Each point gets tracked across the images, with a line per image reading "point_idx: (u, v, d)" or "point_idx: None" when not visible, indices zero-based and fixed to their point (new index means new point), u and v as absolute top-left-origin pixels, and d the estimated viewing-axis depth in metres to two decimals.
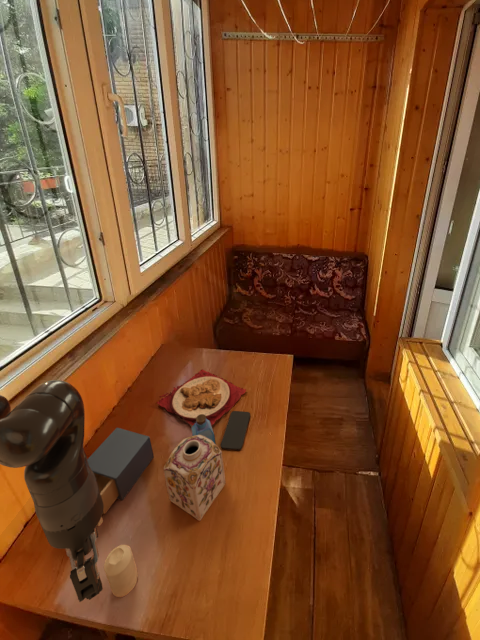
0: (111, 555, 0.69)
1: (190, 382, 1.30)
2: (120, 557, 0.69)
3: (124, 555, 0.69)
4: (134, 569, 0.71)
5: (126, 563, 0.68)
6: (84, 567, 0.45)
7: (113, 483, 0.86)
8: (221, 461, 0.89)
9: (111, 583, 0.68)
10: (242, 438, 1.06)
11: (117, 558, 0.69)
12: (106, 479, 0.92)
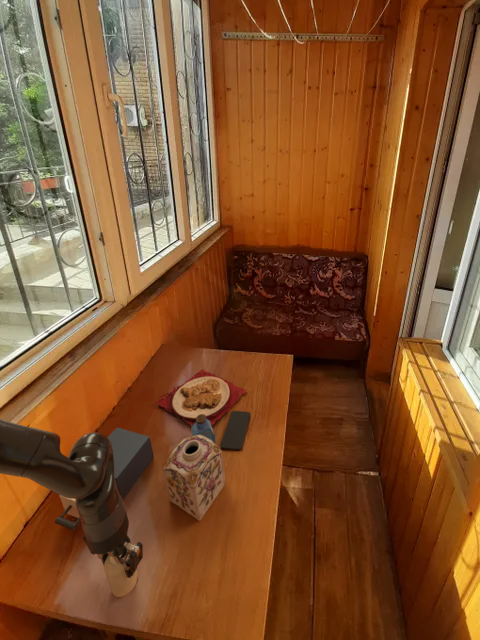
0: None
1: (190, 382, 1.30)
2: None
3: None
4: None
5: None
6: (138, 547, 0.66)
7: None
8: (221, 461, 0.89)
9: (111, 583, 0.68)
10: (242, 438, 1.06)
11: None
12: None
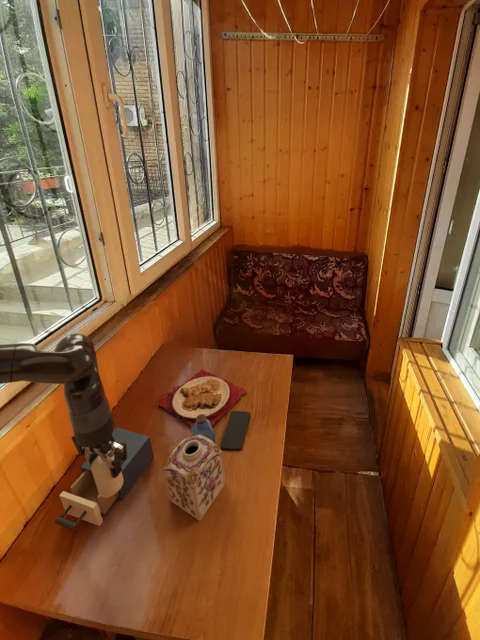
0: (98, 457, 0.74)
1: (190, 382, 1.30)
2: None
3: None
4: None
5: None
6: (122, 445, 0.70)
7: None
8: (221, 461, 0.89)
9: (97, 482, 0.73)
10: (242, 438, 1.06)
11: None
12: None
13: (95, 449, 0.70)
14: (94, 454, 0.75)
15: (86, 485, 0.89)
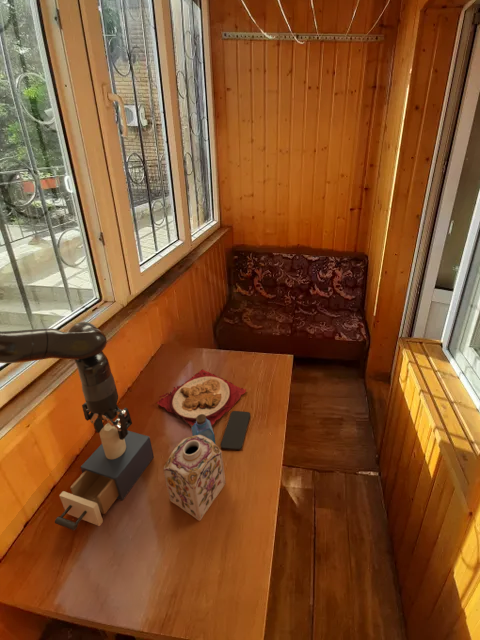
0: (105, 426, 0.90)
1: (190, 382, 1.30)
2: (112, 427, 0.90)
3: None
4: (123, 440, 0.92)
5: (117, 432, 0.89)
6: (124, 410, 0.86)
7: (113, 483, 0.86)
8: (221, 461, 0.89)
9: (105, 446, 0.89)
10: (242, 438, 1.06)
11: (109, 428, 0.90)
12: (106, 479, 0.92)
13: (103, 415, 0.86)
14: (98, 419, 0.91)
15: (86, 485, 0.89)
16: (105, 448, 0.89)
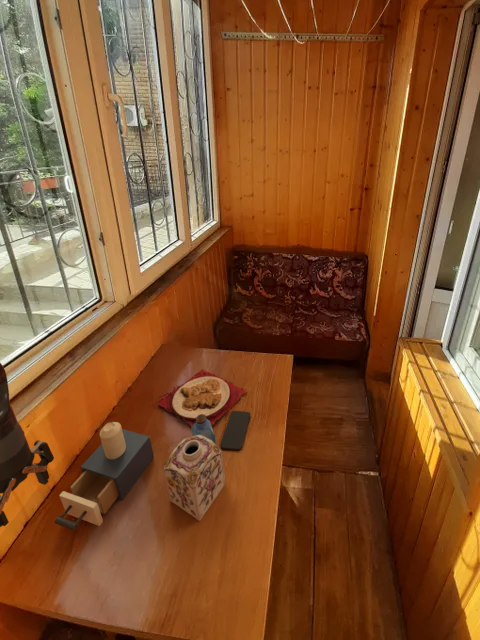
0: (105, 426, 0.90)
1: (190, 382, 1.30)
2: (112, 427, 0.90)
3: (115, 426, 0.90)
4: (123, 440, 0.92)
5: (117, 432, 0.89)
6: None
7: (113, 483, 0.86)
8: (221, 461, 0.89)
9: (105, 446, 0.89)
10: (242, 438, 1.06)
11: (109, 428, 0.90)
12: (106, 479, 0.92)
13: None
14: None
15: (86, 485, 0.89)
16: (105, 448, 0.89)
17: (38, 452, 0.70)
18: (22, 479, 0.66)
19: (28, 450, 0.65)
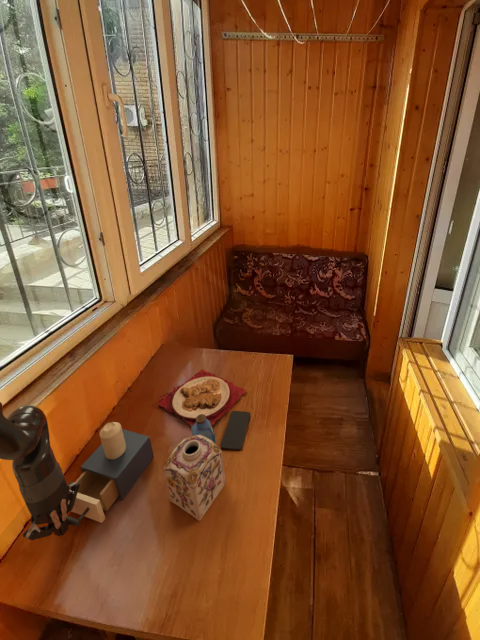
0: (105, 426, 0.90)
1: (190, 382, 1.30)
2: (112, 427, 0.90)
3: (115, 426, 0.90)
4: (123, 440, 0.92)
5: (117, 432, 0.89)
6: (28, 537, 0.69)
7: None
8: (221, 461, 0.89)
9: (105, 446, 0.89)
10: (242, 438, 1.06)
11: (109, 428, 0.90)
12: None
13: None
14: (59, 520, 0.76)
15: (88, 482, 0.89)
16: (105, 448, 0.89)
17: (70, 491, 0.78)
18: (60, 509, 0.75)
19: (65, 485, 0.74)
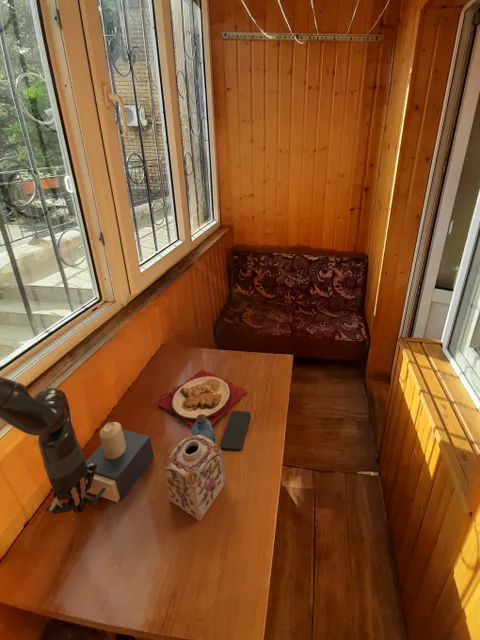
0: (105, 426, 0.90)
1: (190, 382, 1.30)
2: (112, 427, 0.90)
3: (115, 426, 0.90)
4: (123, 440, 0.92)
5: (117, 432, 0.89)
6: (51, 511, 0.74)
7: None
8: (221, 461, 0.89)
9: (105, 446, 0.89)
10: (242, 438, 1.06)
11: (109, 428, 0.90)
12: None
13: None
14: None
15: None
16: (105, 448, 0.89)
17: (88, 471, 0.83)
18: (79, 487, 0.80)
19: (85, 463, 0.79)
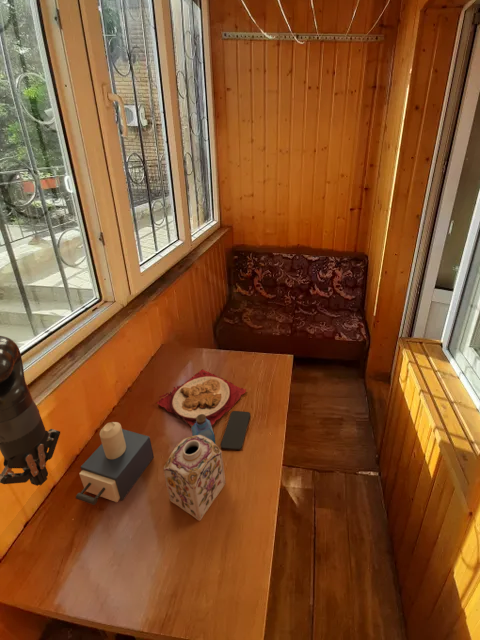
0: (105, 426, 0.90)
1: (190, 382, 1.30)
2: (112, 427, 0.90)
3: (115, 426, 0.90)
4: (123, 440, 0.92)
5: (117, 432, 0.89)
6: (0, 481, 0.63)
7: None
8: (221, 461, 0.89)
9: (105, 446, 0.89)
10: (242, 438, 1.06)
11: (109, 428, 0.90)
12: None
13: None
14: (37, 468, 0.70)
15: None
16: (105, 448, 0.89)
17: (49, 438, 0.72)
18: (37, 456, 0.69)
19: (43, 428, 0.68)
